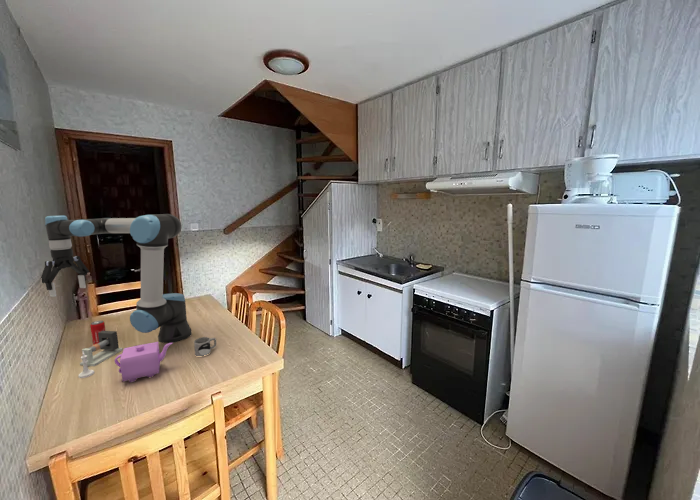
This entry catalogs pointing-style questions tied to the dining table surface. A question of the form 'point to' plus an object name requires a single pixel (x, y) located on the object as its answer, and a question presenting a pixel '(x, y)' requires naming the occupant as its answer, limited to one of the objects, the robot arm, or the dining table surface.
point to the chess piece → (85, 368)
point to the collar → (113, 339)
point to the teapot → (140, 361)
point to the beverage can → (96, 330)
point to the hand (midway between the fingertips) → (68, 292)
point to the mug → (203, 346)
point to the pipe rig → (101, 355)
